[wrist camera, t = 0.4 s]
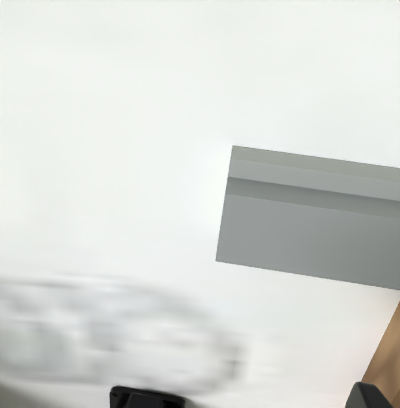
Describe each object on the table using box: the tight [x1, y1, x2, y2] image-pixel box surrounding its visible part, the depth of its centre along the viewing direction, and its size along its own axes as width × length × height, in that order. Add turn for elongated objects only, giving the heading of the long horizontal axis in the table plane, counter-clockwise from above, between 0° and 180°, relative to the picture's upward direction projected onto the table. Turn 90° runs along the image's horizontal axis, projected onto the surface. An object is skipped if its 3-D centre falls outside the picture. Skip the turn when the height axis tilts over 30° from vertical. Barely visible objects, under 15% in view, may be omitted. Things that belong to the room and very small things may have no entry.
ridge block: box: [216, 146, 400, 290], centre depth 20 cm, size 6×10×4 cm, turn 84°
